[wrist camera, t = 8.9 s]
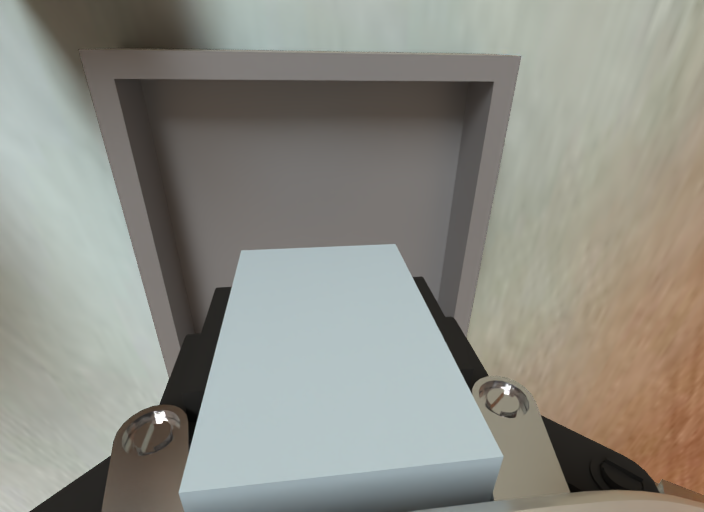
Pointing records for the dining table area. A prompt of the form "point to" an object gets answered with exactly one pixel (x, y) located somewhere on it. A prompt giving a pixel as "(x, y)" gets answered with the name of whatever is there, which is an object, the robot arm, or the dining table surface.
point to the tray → (299, 163)
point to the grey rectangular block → (334, 394)
